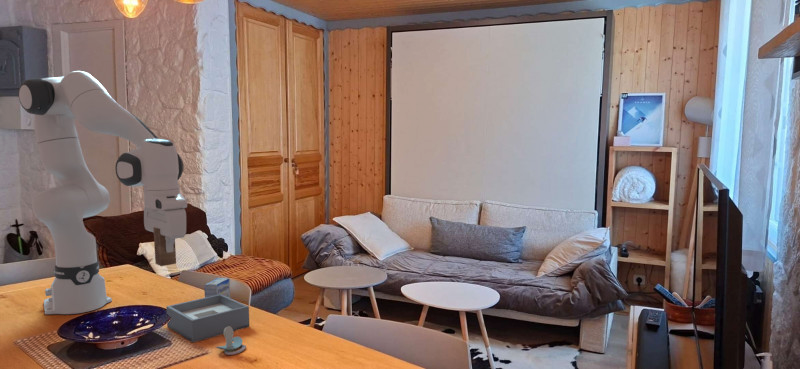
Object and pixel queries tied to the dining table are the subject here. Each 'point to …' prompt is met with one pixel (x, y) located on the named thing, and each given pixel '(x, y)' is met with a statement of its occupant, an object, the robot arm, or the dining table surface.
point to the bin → (207, 317)
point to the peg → (162, 250)
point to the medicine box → (217, 287)
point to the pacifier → (231, 342)
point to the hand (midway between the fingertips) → (165, 250)
